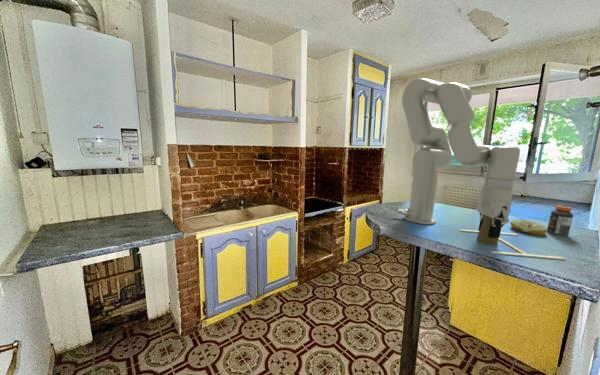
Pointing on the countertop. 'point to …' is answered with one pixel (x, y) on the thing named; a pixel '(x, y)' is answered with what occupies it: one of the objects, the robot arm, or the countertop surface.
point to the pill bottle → (560, 221)
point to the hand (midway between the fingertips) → (488, 233)
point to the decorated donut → (528, 227)
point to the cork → (486, 232)
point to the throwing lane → (516, 248)
